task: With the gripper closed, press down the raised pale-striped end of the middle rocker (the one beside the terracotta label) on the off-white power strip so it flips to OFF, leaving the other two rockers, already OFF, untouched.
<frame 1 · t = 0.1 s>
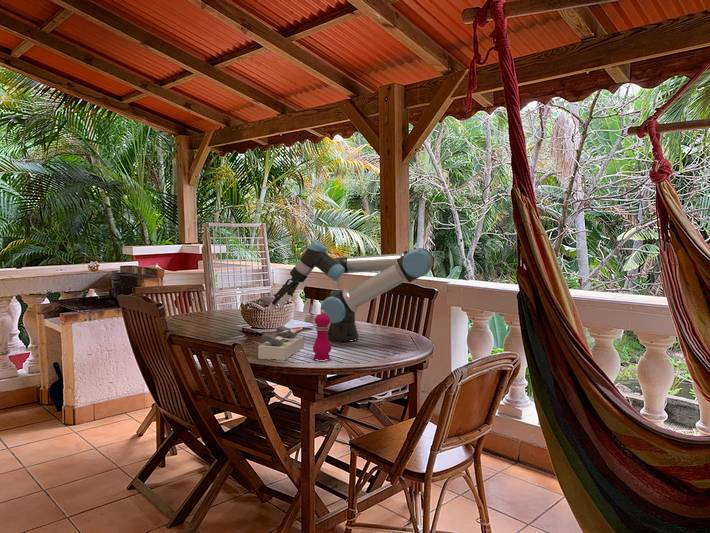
hand: (274, 307, 249), 15 cm above the table, tool tilted 35°, fingers open, 13 cm apart
rocker 3: (273, 338, 218), point 7 cm above the table, hinge at -15.0°
pepper mill: (321, 360, 216), on the table
rocker 2: (279, 334, 226), point 7 cm above the table, hinge at 15.0°
power strip: (282, 352, 226), on the table
rocker 1: (286, 331, 234), point 7 cm above the table, hinge at -15.0°
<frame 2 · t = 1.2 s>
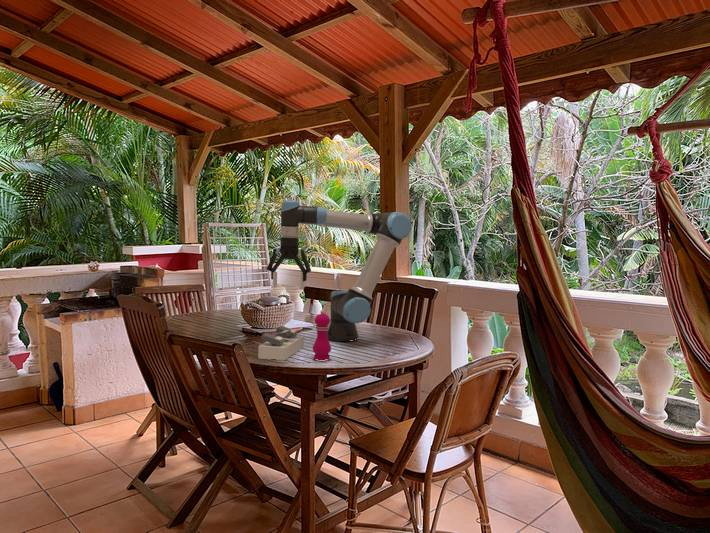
hand: (288, 288, 231), 26 cm above the table, tool pointing down, fingers open, 12 cm apart
nothing on the table moved.
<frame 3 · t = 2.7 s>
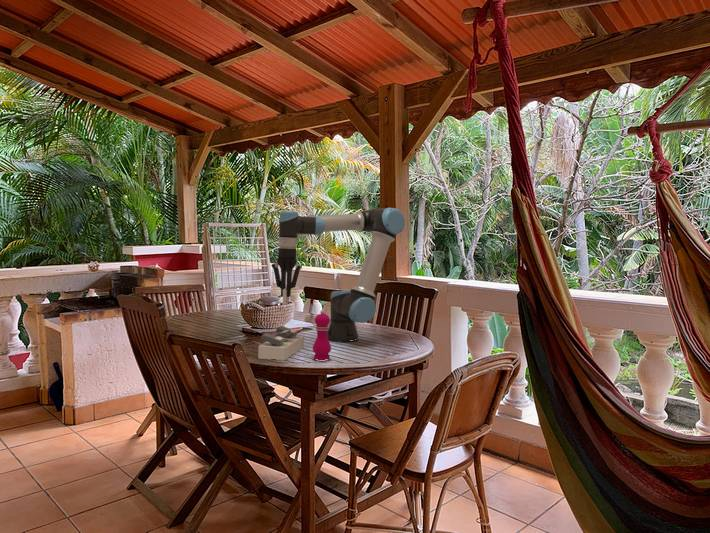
hand: (285, 304, 226), 20 cm above the table, tool pointing down, fingers closed
nothing on the table moved.
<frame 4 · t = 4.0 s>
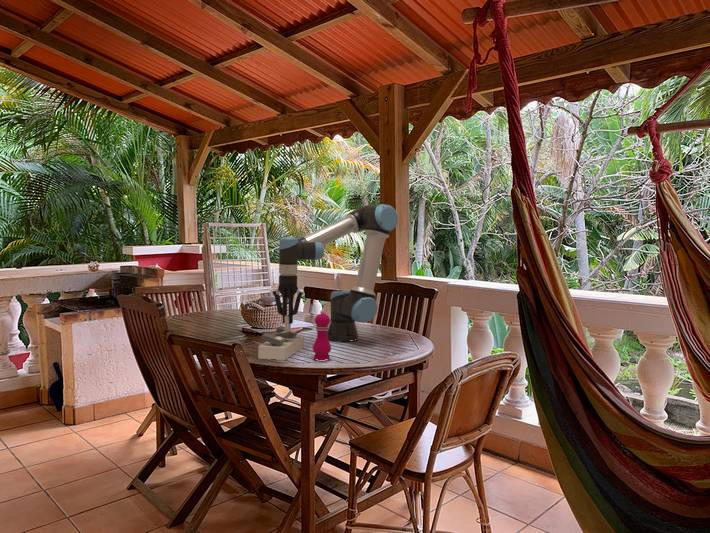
hand: (287, 331, 225), 9 cm above the table, tool pointing down, fingers closed
rocker 2: (280, 334, 226), point 7 cm above the table, hinge at 12.7°, touching gripper
everything else where it was.
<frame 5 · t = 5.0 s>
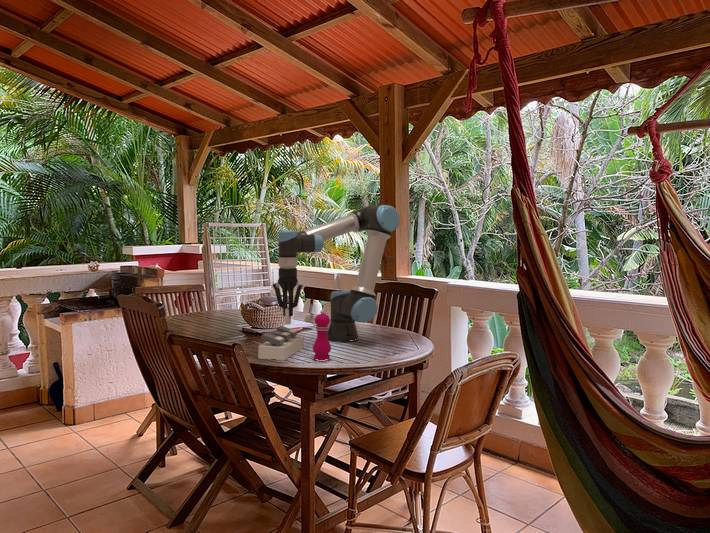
hand: (288, 324, 225), 12 cm above the table, tool pointing down, fingers closed
rocker 2: (280, 334, 226), point 7 cm above the table, hinge at -7.5°
everything else where it was.
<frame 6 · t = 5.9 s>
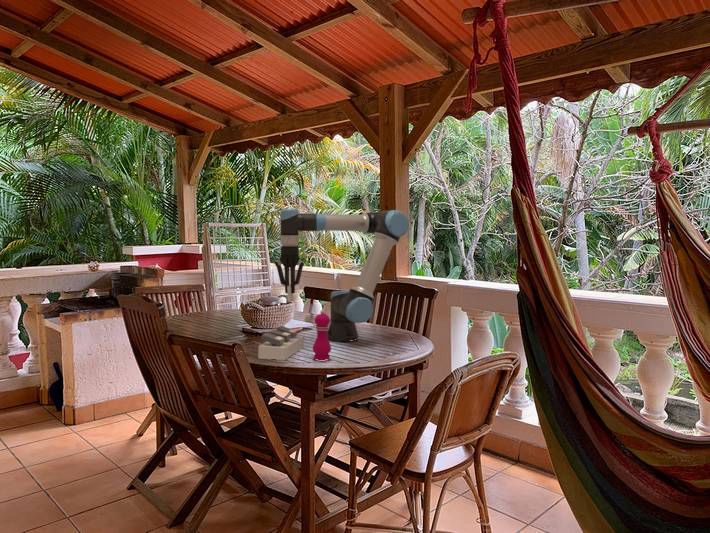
hand: (290, 301, 230), 21 cm above the table, tool pointing down, fingers closed
rocker 2: (280, 334, 226), point 7 cm above the table, hinge at -10.3°
everything else where it was.
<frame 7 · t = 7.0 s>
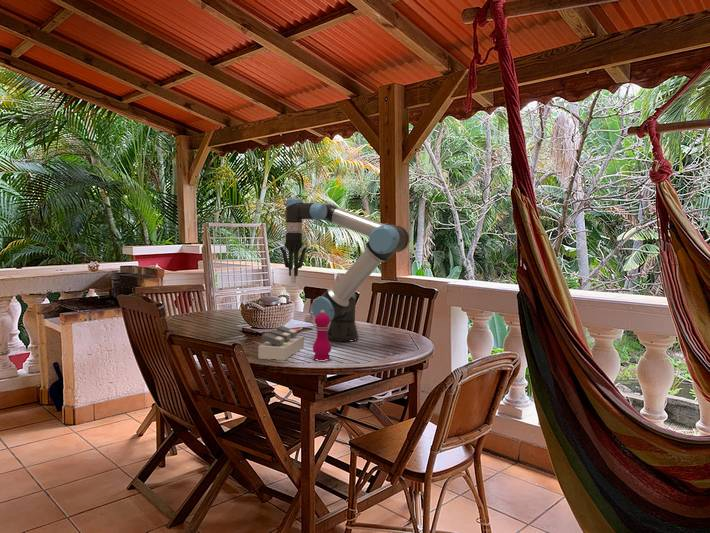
hand: (293, 283, 252), 26 cm above the table, tool pointing down, fingers closed
rocker 2: (280, 334, 226), point 7 cm above the table, hinge at -11.1°
everything else where it was.
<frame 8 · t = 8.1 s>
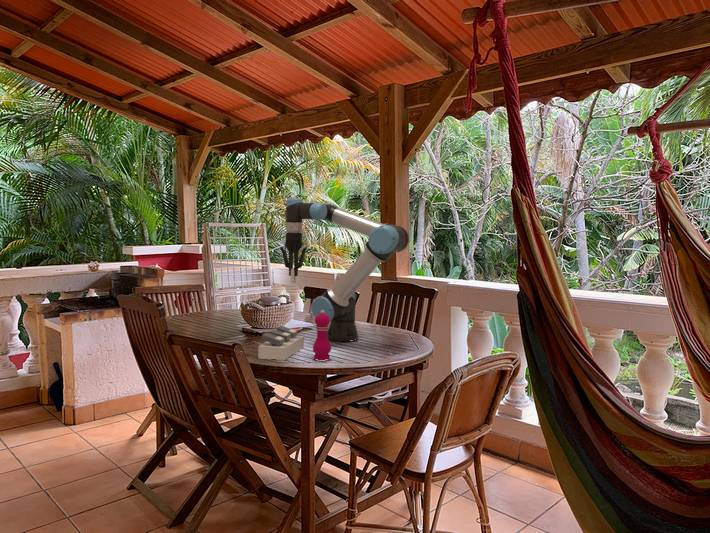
hand: (293, 283, 252), 26 cm above the table, tool pointing down, fingers closed
nothing on the table moved.
at the end: rocker 2 at -11° (first picture: +15°); rocker 1 at -15° (first picture: -15°); rocker 3 at -15° (first picture: -15°) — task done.
